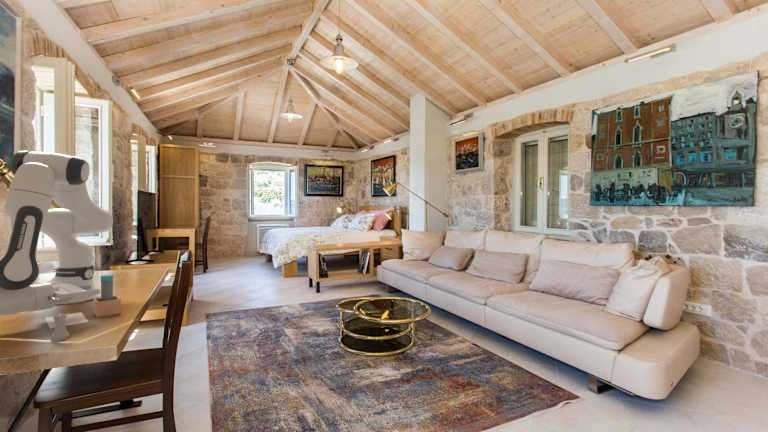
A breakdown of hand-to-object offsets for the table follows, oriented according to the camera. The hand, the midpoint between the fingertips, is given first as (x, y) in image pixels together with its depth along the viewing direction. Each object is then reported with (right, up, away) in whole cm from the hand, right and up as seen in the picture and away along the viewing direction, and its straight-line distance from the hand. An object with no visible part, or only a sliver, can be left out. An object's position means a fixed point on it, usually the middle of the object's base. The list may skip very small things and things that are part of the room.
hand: (94, 289), depth 136 cm
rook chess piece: (+7, -11, -23) cm, 26 cm away
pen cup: (+2, -10, +3) cm, 11 cm away
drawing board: (-6, -10, -6) cm, 13 cm away
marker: (+2, -10, +3) cm, 10 cm away
